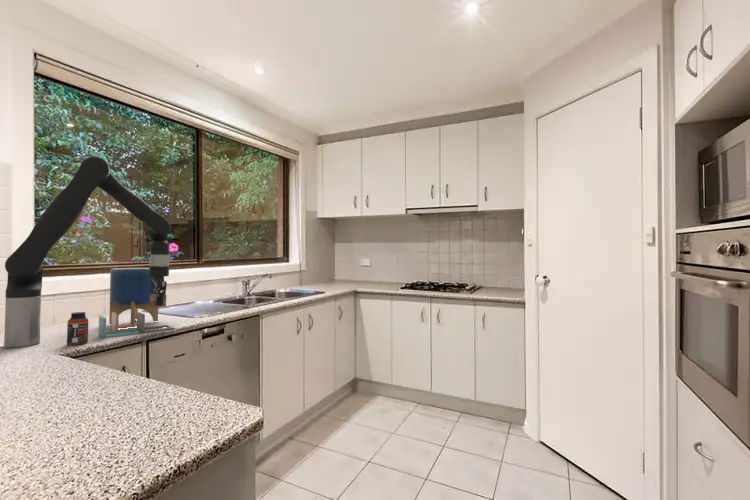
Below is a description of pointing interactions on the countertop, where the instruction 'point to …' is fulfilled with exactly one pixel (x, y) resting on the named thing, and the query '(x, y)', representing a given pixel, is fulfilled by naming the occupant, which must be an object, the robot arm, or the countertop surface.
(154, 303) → the letter cube
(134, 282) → the planter
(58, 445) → the countertop surface
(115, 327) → the pale pink holder
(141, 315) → the gray bookend
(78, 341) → the supplement bottle
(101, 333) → the tray teal
